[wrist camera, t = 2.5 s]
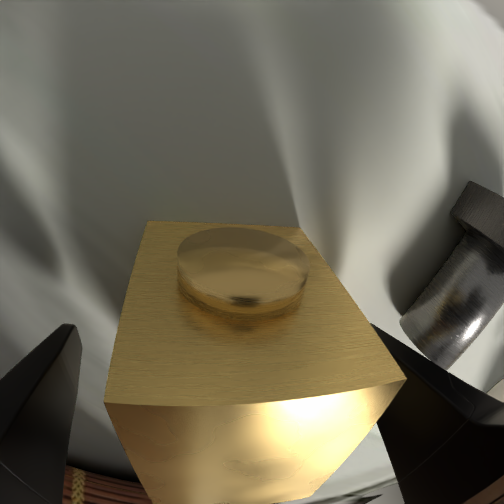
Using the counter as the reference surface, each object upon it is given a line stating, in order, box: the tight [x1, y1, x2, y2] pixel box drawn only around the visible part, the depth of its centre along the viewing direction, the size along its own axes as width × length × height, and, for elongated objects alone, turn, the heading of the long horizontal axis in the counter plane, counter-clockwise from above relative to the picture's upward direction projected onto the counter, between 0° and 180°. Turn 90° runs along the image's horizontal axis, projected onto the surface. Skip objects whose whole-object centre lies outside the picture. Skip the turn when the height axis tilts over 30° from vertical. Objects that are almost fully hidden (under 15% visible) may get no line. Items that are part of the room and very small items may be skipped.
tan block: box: [104, 221, 407, 504], centre depth 8 cm, size 7×4×6 cm, turn 173°
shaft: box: [399, 181, 504, 370], centre depth 10 cm, size 6×4×4 cm
